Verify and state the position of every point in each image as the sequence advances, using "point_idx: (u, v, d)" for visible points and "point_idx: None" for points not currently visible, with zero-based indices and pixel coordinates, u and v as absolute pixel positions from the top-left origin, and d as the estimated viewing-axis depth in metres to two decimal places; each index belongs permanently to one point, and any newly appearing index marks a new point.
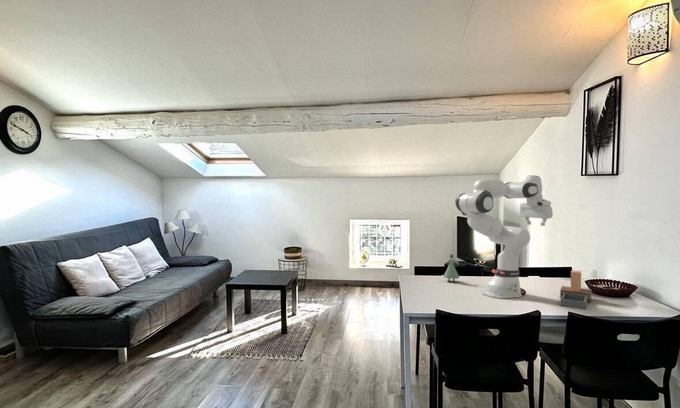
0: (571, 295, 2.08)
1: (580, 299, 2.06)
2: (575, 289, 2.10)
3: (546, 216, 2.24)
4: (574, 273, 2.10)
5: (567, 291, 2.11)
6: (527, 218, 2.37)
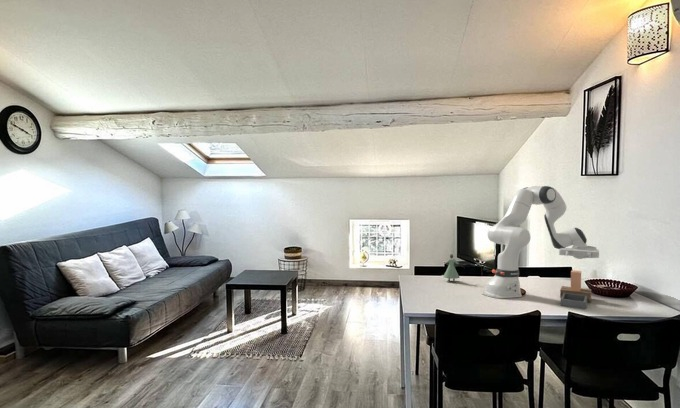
0: (571, 295, 2.08)
1: (580, 299, 2.06)
2: (575, 289, 2.10)
3: (596, 251, 2.22)
4: (574, 273, 2.10)
5: (567, 291, 2.11)
6: (568, 252, 2.28)
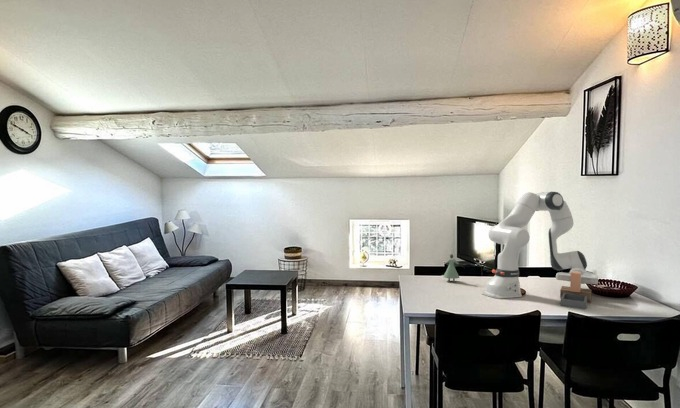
0: (571, 295, 2.08)
1: (580, 299, 2.06)
2: (575, 290, 2.08)
3: (595, 277, 2.12)
4: (574, 274, 2.08)
5: (567, 291, 2.11)
6: None
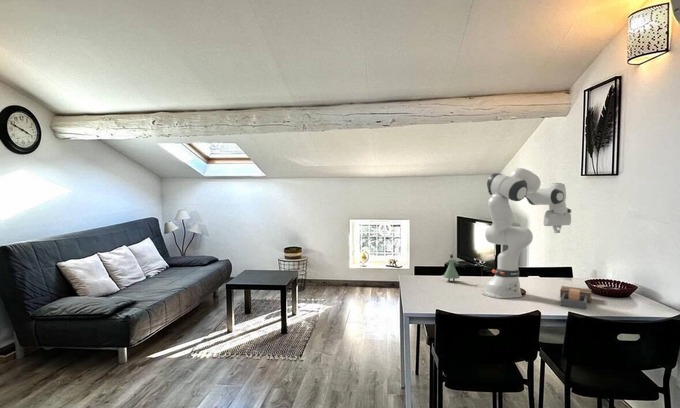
0: None
1: (580, 299, 2.06)
2: None
3: (569, 223, 2.34)
4: None
5: (567, 291, 2.11)
6: (556, 226, 2.31)
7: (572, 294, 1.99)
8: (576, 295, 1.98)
